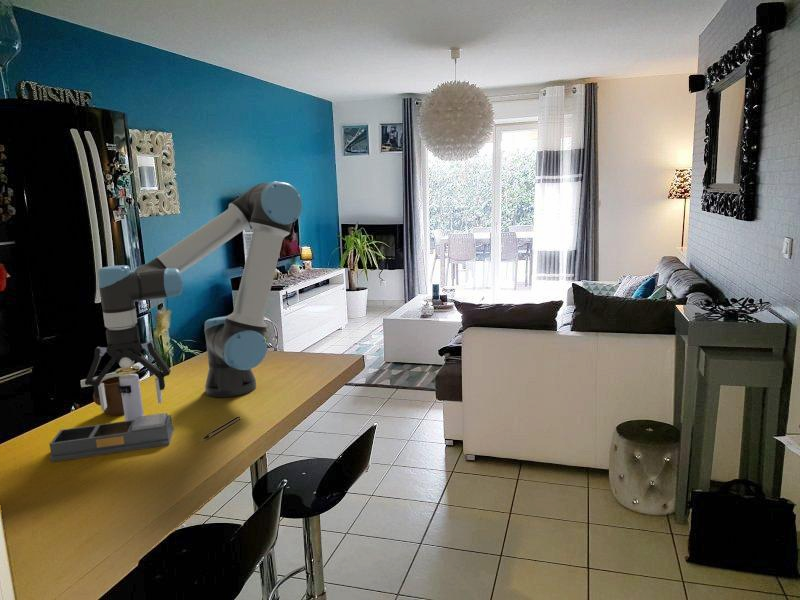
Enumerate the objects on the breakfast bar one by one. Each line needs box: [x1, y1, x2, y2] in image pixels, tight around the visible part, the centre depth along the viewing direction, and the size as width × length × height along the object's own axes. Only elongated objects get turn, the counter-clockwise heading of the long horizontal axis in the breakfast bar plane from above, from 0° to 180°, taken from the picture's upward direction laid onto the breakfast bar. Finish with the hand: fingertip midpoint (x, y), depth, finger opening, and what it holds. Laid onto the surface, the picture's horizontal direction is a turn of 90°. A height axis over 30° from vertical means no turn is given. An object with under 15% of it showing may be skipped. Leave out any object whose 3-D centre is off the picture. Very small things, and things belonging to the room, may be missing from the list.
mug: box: [92, 375, 124, 417], centre depth 163 cm, size 12×8×9 cm, turn 167°
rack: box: [49, 412, 175, 463], centre depth 143 cm, size 26×10×5 cm, turn 105°
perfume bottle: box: [114, 357, 145, 421], centre depth 151 cm, size 6×6×20 cm
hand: (132, 405), depth 152 cm, fingers open, 13 cm apart
